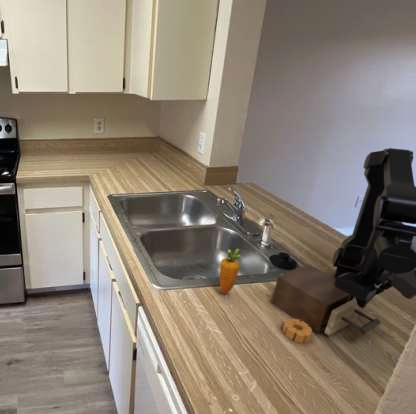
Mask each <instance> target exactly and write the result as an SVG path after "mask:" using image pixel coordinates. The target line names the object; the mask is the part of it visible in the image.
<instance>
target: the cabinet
mask: <svg viewBox="0 0 416 414" xmlns="http://www.w3.org/2000/svg"><path fill="white" fill-rule="evenodd" d="M335 279H336V278H335V277H334V275H331V274H329V273H326V272H325V271H322V270H321V269H319V268H317V267H315V266H313V265H311V264H309V263H307V264H304V265H301V266H300V267H298V268H295V269H293V270H290V271H288V272H285V273H282V274H281V275H278V276H277V279H276V283H275V287H274V290H273V294H272V299H271V301H270V303H271V304H273V305H274V306H275V307H277V308H278V309H279V310H281V311H283V312H284V313H286V314H287V315H289V316H290V317H292V318H293V319H298V320H300V322H301V321H303V322H305V323H306V324H308V325H309V326H308V327H311V330H312V332H313V333H316V334H319V333H321V332H323V331H325V329H326V326H327V324H328V323H326V324H324V325H322V324H323V321H324V318H325V315H326V313H327V310H328V307H329V306H331V305H333V304H335V303H337V302H339V301H341V300H343V299H345V298H347V297H349V296H351V297H350V299H349V301H351V300H353V299H355V297H354V296H352V295H350V294H348V293H346V292H344V291H343V290H341V289H339V288H337V287H335V286H334V282H335Z"/></svg>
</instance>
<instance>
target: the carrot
mask: <svg viewBox="0 0 416 414" xmlns="http://www.w3.org/2000/svg"><path fill="white" fill-rule="evenodd" d="M239 251H240V249H239V248H236V249H235V251H234V253H232V250H231V249H227V257H226V258H223V259H221V261H220V267H219V268H220V269H219V286H220V290H221V292H222V294H223V295H227V294H228V293H229V292H230V291H231V290H232V289H233V287H234V286H235V284H236V282H237V279H238V274H239V272H240V271H239V270H240V262H239V261H238V260H237V259H238V258H242V255H241V254H238V253H239Z"/></svg>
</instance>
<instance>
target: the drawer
mask: <svg viewBox="0 0 416 414" xmlns="http://www.w3.org/2000/svg"><path fill="white" fill-rule="evenodd" d="M350 297H351V296H349V297H347V298H345V299H343V300H341V301H339V302H337V303H335V304H333V305H331V306H329V307H328V310H327V313H326V315H325V318H324V321H323V324H322V325H324V324H326V323H328V324H327V326H326V329H325V330H324V332H323V333H324V334H326V335H327V336H331V335H333V334H335V333H337V332H338V331H340V330H342V329H344V328H346V327H347V326H348V325H349V326H352V327H353V328H355V329H357V331H358V333H359V334H361V335H365V334H367V333H369V332H371V330H374V329H375V328H376V327H378V326H380V325H381V324H382V323H381V320H380V319H379V318H373V317H371V316H369V315H367V314H365V313H364V312H363V311H361V310H362V308H361V307H359V306H358V305H357V301H356V298H354V299H353V300H351V301H349V299H350ZM359 316H361V317H363V318H365V319H366V320H368V321H369V322H367V323H365V324H363V325H361V326H360V325H358V324H357V323H355V322H356V321H357V320H358V318H359Z"/></svg>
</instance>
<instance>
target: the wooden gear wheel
mask: <svg viewBox="0 0 416 414" xmlns="http://www.w3.org/2000/svg"><path fill="white" fill-rule="evenodd" d="M308 326H309V325H308V324H306V323H305V322H303V321H301V322H300V320H298V319H295V318H293V317H292V318H290V317H289V318H287V319H285V320H284V323H283V326H282V332H283V334H285V337H287V338H288V339H289V340H291V341H293V340H294V342H297V343H300V344H301V343H302V344H303V343H305V344H307V342H309V341H310V340H311V337H312V334H313V330H311V327H308Z"/></svg>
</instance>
